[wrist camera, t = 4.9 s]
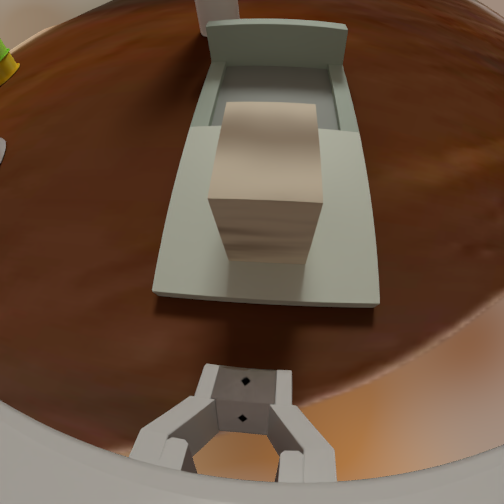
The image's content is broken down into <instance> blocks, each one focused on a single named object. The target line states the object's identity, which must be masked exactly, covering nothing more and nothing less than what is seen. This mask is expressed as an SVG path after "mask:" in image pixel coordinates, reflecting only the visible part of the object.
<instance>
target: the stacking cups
mask: <svg viewBox="0 0 504 504" xmlns="http://www.w3.org/2000/svg"><path fill="white" fill-rule="evenodd" d="M9 51H10V49H6V47H5V45H4V44H3V42H2V40H1V39H0V86H1V85H2V84H4V83H5V82H6V81H7V80H8V79H9V78H10V77H12V76H13V74H14V73H15V72H16V71H17V70H18V68H19V66H20V64H19V63H16V62H15V61H14V59H13V57H12V56H11V54H10V52H9Z"/></svg>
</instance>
